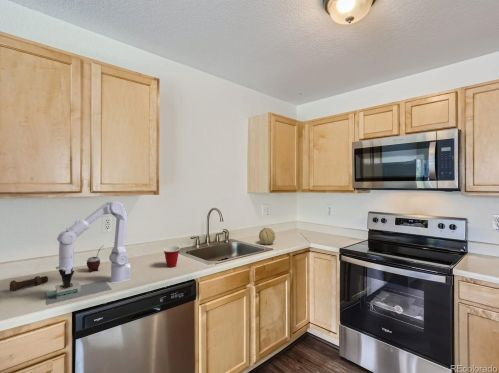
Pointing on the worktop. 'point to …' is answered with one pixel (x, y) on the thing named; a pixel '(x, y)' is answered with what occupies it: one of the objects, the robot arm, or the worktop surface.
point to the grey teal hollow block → (66, 290)
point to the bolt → (27, 283)
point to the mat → (85, 290)
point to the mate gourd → (93, 263)
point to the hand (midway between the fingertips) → (66, 284)
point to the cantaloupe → (267, 236)
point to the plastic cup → (171, 255)
